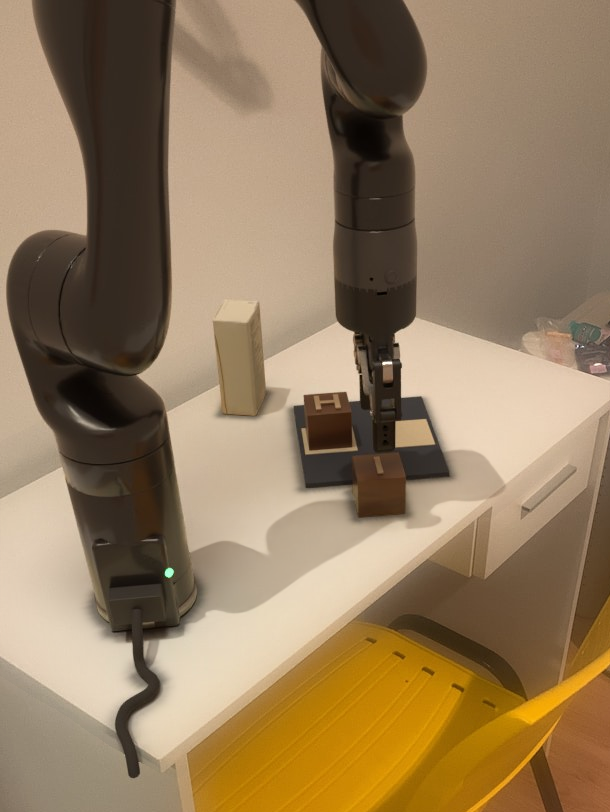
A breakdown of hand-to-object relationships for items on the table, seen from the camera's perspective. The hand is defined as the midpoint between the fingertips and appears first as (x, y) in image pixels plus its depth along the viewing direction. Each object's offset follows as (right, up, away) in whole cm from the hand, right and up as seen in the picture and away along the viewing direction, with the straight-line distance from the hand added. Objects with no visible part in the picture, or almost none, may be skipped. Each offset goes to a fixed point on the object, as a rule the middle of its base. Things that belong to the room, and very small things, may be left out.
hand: (377, 428), depth 97 cm
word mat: (-1, +2, +15) cm, 15 cm away
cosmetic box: (-16, +8, +22) cm, 29 cm away
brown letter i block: (0, -7, +5) cm, 9 cm away
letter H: (-5, +2, +14) cm, 15 cm away
